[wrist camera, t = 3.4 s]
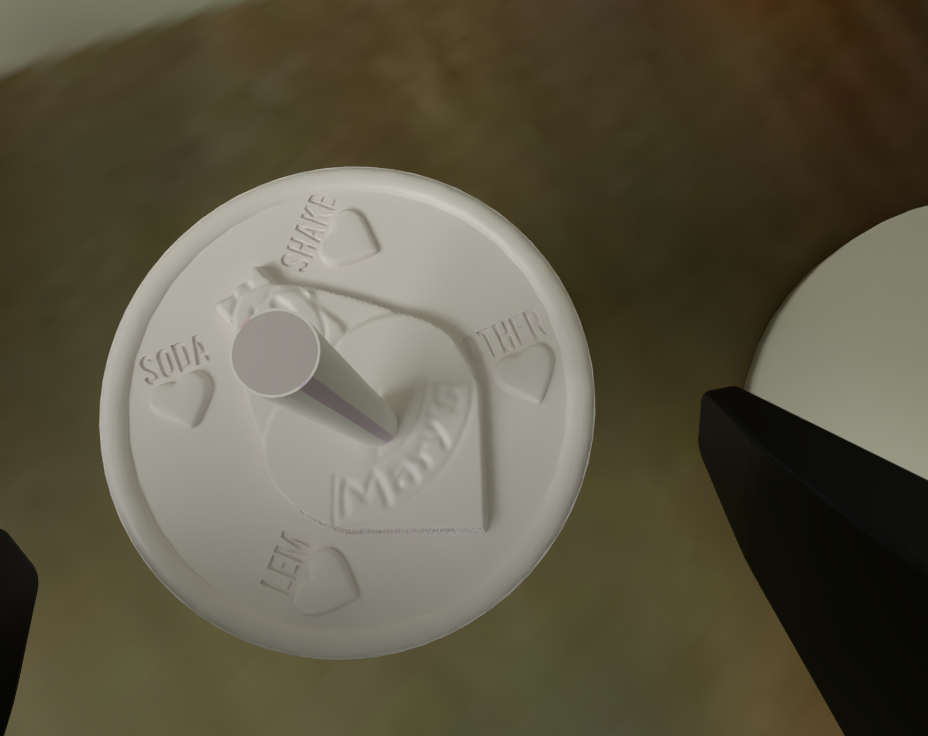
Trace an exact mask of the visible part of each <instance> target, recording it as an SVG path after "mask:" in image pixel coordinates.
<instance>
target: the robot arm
mask: <svg viewBox="0 0 928 736" xmlns="http://www.w3.org/2000/svg"><path fill="white" fill-rule="evenodd" d="M698 442H699V449H700V453H701V457H702V459H703V462H704V464H705V466H706V469H707V471H708V473H709V476H710V478H711V481H712V483H713V485H714V488H715V490H716V492H717V495H718V497H719V499H720V502H721V504H722V507H723V509H724V511H725V514H726V516H727V518H728V521H729V523H730V525H731V528H732V530H733V533H734V535H735V537H736V540H737V542H738V544H739V546H740V549H741V551H742V553H743V555H744V557H745V559H746V561H747V563H748V565H749V567H750V569H751V571H752V573H753V575H754V576H755V578H756V580H757V582H758V583H759V585H760V587H761V589H762V590H763V592H764V594H765V596H766V598H767V599H768V601H769V603H770V605H771V606H772V608H773V610H774V612H775V613H776V615H777V617H778V619H779V620H780V622H781V624H782V626H783V628H784V629H785V631H786V633H787V635H788V636H789V638H790V640H791V642H792V643H793V645H794V647H795V649H796V651H797V652H798V654H799V656H800V658H801V659H802V661H803V663H804V665H805V666H806V668H807V670H808V672H809V673H810V675H811V677H812V679H813V681H814V682H815V684H816V686H817V688H818V689H819V691H820V693H821V695H822V696H823V698H824V700H825V702H826V704H827V705H828V707H829V709H830V711H831V712H832V714H833V716H834V718H835V719H836V721H837V723H838V725H839V726H840V728H841V730H842V732H843V734H844V735H845V736H928V480H927V479H925V478H923V477H921V476H919V475H917V474H915V473H913V472H911V471H909V470H907V469H905V468H903V467H901V466H898V465H896V464H894V463H892V462H890V461H888V460H886V459H884V458H882V457H880V456H878V455H876V454H874V453H872V452H870V451H868V450H866V449H864V448H862V447H860V446H858V445H856V444H854V443H852V442H850V441H848V440H846V439H844V438H842V437H840V436H838V435H836V434H834V433H831V432H829V431H827V430H825V429H823V428H821V427H819V426H817V425H815V424H813V423H811V422H809V421H807V420H805V419H803V418H801V417H799V416H797V415H795V414H793V413H791V412H789V411H787V410H785V409H783V408H781V407H779V406H777V405H775V404H773V403H771V402H769V401H767V400H764V399H762V398H760V397H758V396H756V395H754V394H752V393H750V392H748V391H746V390H744V389H742V388H740V387H736V386H730V387H725V388H720V389H715V390H709V391H707V392H706V393H705V394H704V395H703V397H702V401H701V412H700V424H699V437H698ZM37 590H38V575H37V571H36V569H35V567H34V566H33V564H32V563H31V562H30V560H29V559H28V558H27V557H26V555H25V554H24V553H23V552H22V550H21V549H20V548H19V546H18V545H17V544H16V543H15V541H14V540H13V539H12V538H11V536H10V535H9V534H8V533H7V532H6V531H4V530H2V529H0V736H4V734H5V731H6V728H7V725H8V721H9V718H10V714H11V711H12V707H13V704H14V700H15V695H16V691H17V687H18V683H19V678H20V673H21V668H22V663H23V658H24V654H25V649H26V644H27V639H28V634H29V629H30V624H31V620H32V615H33V610H34V605H35V600H36V595H37Z"/></svg>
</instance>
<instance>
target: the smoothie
mask: <svg viewBox="0 0 928 736" xmlns="http://www.w3.org/2000/svg"><path fill="white" fill-rule="evenodd" d="M594 421H595V387H594V378H593V369H592V363H591V358H590V353H589V349H588V344H587V340H586V337H585V334H584V331H583V328H582V325H581V322H580V319H579V317H578V314H577V312H576V310H575V307H574V305H573V303H572V300H571V298H570V296H569V295H568V293H567V291H566V289H565V287H564V286H563V284H562V282H561V280H560V278H559V277H558V275H557V274H556V273H555V271H554V270H553V268H552V267H551V265H550V264H549V262H548V261H547V260H546V258H545V257H544V256H543V255H542V254H541V252H540V251H539V250H538V249H537V248H536V247H535V245H534V244H533V243H532V242H531V241H530V240H529V239H528V238H527V237H526V236H525V235H524V234H523V233H522V232H521V231H520V230H519V229H518V228H517V227H516V226H514V225H513V224H512V223H511V222H509V221H508V220H507V219H506V218H504V217H503V216H502V215H501V214H499V213H498V212H497V211H495V210H494V209H492V208H491V207H489V206H488V205H486V204H485V203H483V202H482V201H480V200H478V199H476V198H475V197H473V196H471V195H469V194H467V193H465V192H463V191H461V190H459V189H457V188H455V187H452V186H450V185H447V184H445V183H442V182H440V181H437V180H434V179H431V178H427V177H424V176H421V175H418V174H413V173H408V172H403V171H399V170H393V169H384V168H375V167H338V168H325V169H319V170H313V171H307V172H302V173H298V174H294V175H291V176H287V177H283V178H280V179H277V180H274V181H271V182H268V183H266V184H263V185H260V186H258V187H256V188H254V189H251V190H249V191H247V192H245V193H243V194H241V195H238V196H237V197H235V198H233V199H232V200H230V201H228V202H226V203H225V204H223V205H221V206H219V207H218V208H216V209H215V210H214V211H212V212H211V213H209V214H208V215H206V216H205V217H204V218H202V219H201V220H199V221H198V222H197V223H196V224H195V225H193V226H192V227H191V228H190V229H189V230H188V231H186V232H185V233H184V234H183V235H182V236H181V237H180V238H179V239H178V240H177V241H176V242H175V243H174V244H173V245H172V246H171V247H170V248H169V249H168V250H167V251H166V252H165V253H164V254H163V255H162V257H161V258H160V259H159V260H158V262H157V263H156V264H155V265H154V266H153V268H152V269H151V270H150V271H149V273H148V274H147V276H146V277H145V279H144V280H143V282H142V283H141V285H140V286H139V288H138V289H137V291H136V293H135V294H134V296H133V298H132V300H131V302H130V303H129V305H128V307H127V309H126V311H125V313H124V315H123V317H122V320H121V322H120V324H119V327H118V329H117V331H116V334H115V337H114V340H113V343H112V346H111V349H110V352H109V355H108V359H107V364H106V368H105V373H104V377H103V384H102V391H101V399H100V423H99V428H100V442H101V453H102V459H103V465H104V471H105V476H106V479H107V483H108V487H109V490H110V494H111V497H112V500H113V503H114V505H115V508H116V510H117V513H118V515H119V518H120V521H121V523H122V525H123V526H124V528H125V530H126V532H127V534H128V536H129V538H130V540H131V542H132V544H133V545H134V547H135V548H136V550H137V551H138V553H139V554H140V556H141V557H142V559H143V560H144V562H145V563H146V565H147V566H148V567H149V568H150V569H151V571H152V572H153V573H154V574H155V576H156V577H157V578H158V579H159V580H160V582H161V583H162V584H163V585H164V586H165V587H166V588H167V589H168V590H169V591H170V592H171V593H172V594H173V595H174V596H175V597H176V598H178V599H179V600H180V601H181V602H182V603H183V604H185V605H186V606H187V607H188V608H190V609H191V610H192V611H194V612H195V613H196V614H197V615H199V616H200V617H202V618H203V619H205V620H206V621H208V622H210V623H211V624H213V625H214V626H216V627H218V628H219V629H221V630H223V631H225V632H227V633H229V634H231V635H233V636H235V637H237V638H239V639H241V640H243V641H246V642H249V643H251V644H254V645H257V646H260V647H262V648H265V649H268V650H272V651H276V652H280V653H285V654H289V655H293V656H300V657H307V658H315V659H335V660H348V659H362V658H372V657H378V656H383V655H389V654H394V653H399V652H402V651H405V650H409V649H412V648H416V647H419V646H422V645H425V644H427V643H430V642H432V641H435V640H437V639H440V638H442V637H445V636H447V635H449V634H451V633H453V632H454V631H456V630H458V629H460V628H462V627H464V626H466V625H468V624H469V623H471V622H472V621H474V620H476V619H477V618H479V617H480V616H482V615H483V614H485V613H486V612H488V611H489V610H491V609H492V608H493V607H494V606H495V605H497V604H498V603H499V602H500V601H502V600H503V599H504V598H505V597H506V596H508V595H509V594H510V593H511V592H512V591H513V590H514V589H515V588H516V587H517V586H518V585H519V584H520V583H521V582H522V581H523V580H524V579H525V578H526V577H527V576H528V575H529V574H530V573H531V572H532V571H533V569H534V568H535V567H536V566H537V564H538V563H539V562H540V561H541V559H542V558H543V557H544V556H545V555H546V553H547V552H548V550H549V549H550V547H551V546H552V544H553V543H554V541H555V540H556V538H557V537H558V535H559V534H560V532H561V530H562V528H563V526H564V524H565V522H566V520H567V518H568V517H569V515H570V513H571V511H572V509H573V506H574V504H575V501H576V499H577V496H578V494H579V491H580V489H581V486H582V483H583V479H584V476H585V473H586V469H587V466H588V462H589V457H590V452H591V446H592V441H593V432H594Z"/></svg>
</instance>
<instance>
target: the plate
mask: <svg viewBox="0 0 928 736" xmlns="http://www.w3.org/2000/svg"><path fill="white" fill-rule="evenodd" d="M744 390H746V391H748V392H750V393H752V394H754V395H756V396H758V397H760V398H762V399H764V400H767V401H769V402H771V403H773V404H775V405H777V406H779V407H781V408H783V409H785V410H787V411H789V412H791V413H793V414H795V415H797V416H799V417H801V418H803V419H805V420H807V421H809V422H811V423H813V424H815V425H817V426H819V427H821V428H823V429H825V430H827V431H829V432H831V433H834V434H836V435H838V436H840V437H842V438H844V439H846V440H848V441H850V442H852V443H854V444H856V445H858V446H860V447H862V448H864V449H866V450H868V451H870V452H872V453H874V454H876V455H878V456H880V457H882V458H884V459H886V460H888V461H890V462H892V463H894V464H896V465H898V466H901V467H903V468H905V469H907V470H909V471H911V472H913V473H915V474H917V475H919V476H921V477H923V478H925V479H927V480H928V206H924V207H920V208H917V209H913V210H910V211H908V212H905V213H903V214H901V215H898V216H896V217H893V218H891V219H889V220H886V221H884V222H882V223H880V224H878V225H876V226H875V227H873V228H871V229H870V230H868V231H866V232H865V233H863V234H861V235H859V236H858V237H856V238H854V239H853V240H851V241H850V242H848V243H847V244H845V245H844V246H842V247H841V248H839V249H838V250H836V251H835V252H834V253H832V254H831V255H830V256H828V257H827V258H826V259H825V260H823V261H822V262H821V263H820V264H818V265H817V266H816V267H815V268H813V269H812V270H811V271H810V272H809V273H808V274H807V275H806V276H805V277H804V278H803V279H802V280H801V281H800V282H799V283H798V284H797V285H796V286H795V288H794V289H793V290H792V291H791V292H790V293H789V294H788V295H787V297H786V298H785V300H784V301H783V302H782V304H781V305H780V307H779V308H778V310H777V311H776V312H775V314H774V315H773V317H772V318H771V320H770V322H769V323H768V325H767V327H766V329H765V331H764V333H763V335H762V337H761V339H760V341H759V343H758V345H757V347H756V350H755V353H754V356H753V359H752V362H751V364H750V367H749V370H748V373H747V376H746V380H745V385H744Z"/></svg>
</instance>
